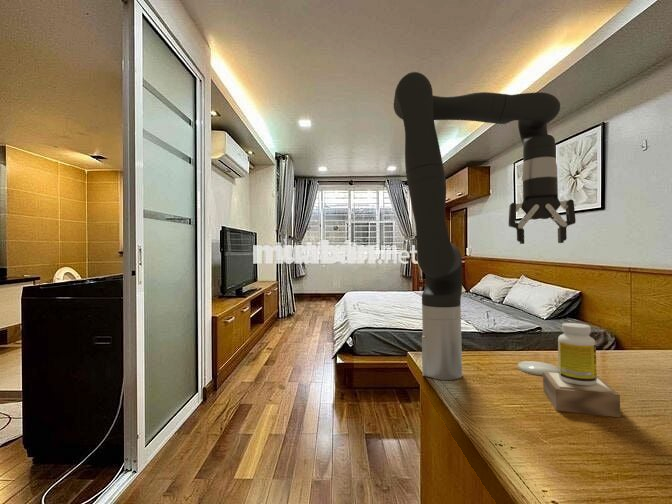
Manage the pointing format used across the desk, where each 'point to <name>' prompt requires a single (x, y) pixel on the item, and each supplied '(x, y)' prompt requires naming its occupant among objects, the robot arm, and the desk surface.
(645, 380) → the desk surface
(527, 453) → the desk surface
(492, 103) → the robot arm
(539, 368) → the pale white disc
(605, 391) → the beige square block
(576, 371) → the pill bottle
